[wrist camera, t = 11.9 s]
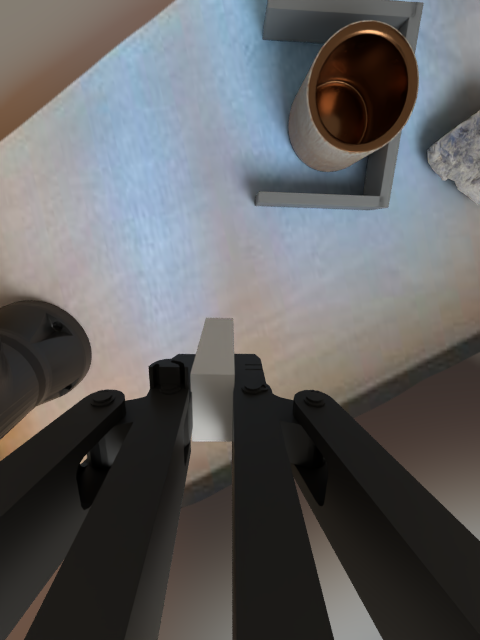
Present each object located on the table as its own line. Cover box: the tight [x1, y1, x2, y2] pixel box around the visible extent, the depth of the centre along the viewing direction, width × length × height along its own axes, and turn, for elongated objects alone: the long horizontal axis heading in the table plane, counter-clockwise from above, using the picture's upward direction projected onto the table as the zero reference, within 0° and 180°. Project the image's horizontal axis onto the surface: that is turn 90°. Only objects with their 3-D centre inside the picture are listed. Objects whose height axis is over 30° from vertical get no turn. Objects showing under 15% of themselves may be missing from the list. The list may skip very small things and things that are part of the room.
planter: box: [288, 20, 419, 172], centre depth 32 cm, size 11×11×10 cm
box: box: [255, 0, 423, 210], centre depth 34 cm, size 16×19×5 cm
